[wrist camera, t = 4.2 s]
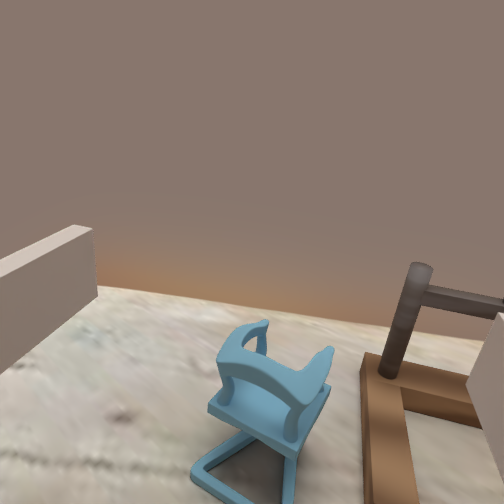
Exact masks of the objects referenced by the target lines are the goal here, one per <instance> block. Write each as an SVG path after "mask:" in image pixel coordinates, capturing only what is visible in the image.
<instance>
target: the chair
mask: <svg viewBox="0 0 504 504" xmlns="http://www.w3.org/2000/svg"><path fill="white" fill-rule="evenodd" d="M268 325H269V321H268V320H266V319H265V320H262V321H260V322H257V323H252V324H246V325H242V326H240V327H238V328H236V329H235V330H234V331H233V332H232V333H231V334H230V336H229V337H228V338H227V340H226V341H225V343H224V344H223V346H222V348H221V350H220V351H219V353H218V355H217V358H216V362H217V366H218V370H219V374H220V376H221V379H222V383H223V387H222V388H221V389H220V390H219V391H218V393H217V394H216V395H215V396H214V397H213V398H212V399H211V400H210V401H209V402H208V411H207V412H208V413H209V414H211V415H213V416H215V417H216V418H218V419H220V420H222V421H224V422H226V423H228V424H230V425H232V426H235V427H237V428H239V429H241V430H242V431H240V432H239V433H237V434H236V435H234V436H233V437H231V438H230V439H228V440H227V441H225V442H224V443H222V444H221V445H219V446H218V447H216V448H215V449H213V450H212V451H210V452H209V453H207V454H206V455H205V456H203V457H202V458H201V459H200V460H198V461H197V462H196V463H195V464H194V465H193V466H192V468H191V479H192V481H193V482H194V483H196V484H197V485H199V486H200V487H202V488H203V489H205V490H206V491H208V492H209V493H211V494H212V495H214V496H215V497H217V498H218V499H220V500H221V501H223V502H224V503H226V504H254V503H253V502H251V501H250V500H248V499H247V498H245V497H244V496H242V495H241V494H239V493H238V492H236V491H235V490H233V489H232V488H230V487H229V486H227V485H226V484H224V483H222V482H221V481H219V480H218V479H216V478H215V477H213V476H212V475H210V474H209V473H207V471H208V470H210V469H211V468H213V467H214V466H216V465H217V464H219V463H221V462H222V461H224V460H225V459H227V458H228V457H230V456H231V455H233V454H235V453H236V452H238V451H239V450H241V449H242V448H244V447H245V446H247V445H248V444H250V443H251V442H253V441H254V440H256V439H259V440H260V441H262V442H263V443H265V444H266V445H268V446H269V447H271V448H272V449H274V450H275V451H277V452H279V453H280V454H282V455H284V456H285V461H284V473H283V487H282V502H281V504H293V503H294V492H295V479H296V466H297V456H298V454H299V452H300V450H301V448H302V446H303V444H304V442H305V440H306V438H307V436H308V434H309V432H310V430H311V429H312V427H313V425H314V423H315V422H316V420H317V418H318V416H319V414H320V412H321V410H322V408H323V406H324V404H325V402H326V400H327V398H328V396H329V394H330V390H331V386H330V385H327V384H325V383H324V382H325V380H326V377H327V375H328V373H329V370H330V367H331V364H332V357H333V354H334V347H332V346H327V347H326V348H325V349H324V350H323V351H321V352H318V353H317V354H316V355H315V356H314V357H313V358H312V360H311V361H310V362H309V364H308V365H307V366H306V367H305V368H304V369H303V370H300V371H294V370H292V369H290V368H288V367H285V366H283V365H281V364H280V363H278V362H276V361H274V360H272V359H270V358H268V357H266V352H267V343H266V332H267V328H268ZM255 336H257V348H256V352H251V351H249V350H246V349H244V348H243V347H244V345H245V344H246V343H247V342H248V341H249V340H250V339H251V338H253V337H255Z"/></svg>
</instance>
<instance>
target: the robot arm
mask: <svg viewBox="0 0 504 504" xmlns="http://www.w3.org/2000/svg"><path fill="white" fill-rule="evenodd" d="M97 296H98V292H97V279H96V265H95V249H94V235H93V228H88V227H83V226H78V225H72V226H70V227H68V228H65V229H63V230H61V231H59V232H57V233H55V234H53V235H51V236H49V237H47V238H44V239H42V240H40V241H38V242H36V243H34V244H32V245H30V246H28V247H26V248H24V249H21V250H19V251H17V252H15V253H13V254H11V255H9V256H7V257H5V258H3V259H0V374H2V373H3V372H4V371H5V370H7V369H8V368H9V367H10V366H11V365H13V364H14V363H15V362H16V361H18V360H19V359H20V358H21V357H23V356H24V355H25V354H26V353H28V352H29V351H30V350H31V349H33V348H34V347H35V346H36V345H38V344H39V343H40V342H41V341H43V340H44V339H45V338H46V337H48V336H49V335H50V334H51V333H53V332H54V331H55V330H56V329H57V328H59V327H60V326H61V325H62V324H64V323H65V322H66V321H67V320H69V319H70V318H71V317H72V316H74V315H75V314H76V313H77V312H79V311H80V310H81V309H82V308H84V307H85V306H86V305H87V304H89V303H90V302H91V301H92V300H94V299H95V298H96V297H97ZM465 385H466V387H467V390H468V393H469V395H470V398H471V400H472V403H473V405H474V408H475V411H476V413H477V416H478V418H479V421H480V424H481V426H482V429H483V431H484V434H485V436H486V439H487V442H488V444H489V447H490V449H491V452H492V455H493V457H494V460H495V462H496V465H497V467H498V470H499V473H500V475H501V478H502V480H503V483H504V313H500V312H498V313H497V315H496V318H495V320H494V322H493V325H492V327H491V329H490V331H489V333H488V335H487V338H486V340H485V342H484V344H483V347H482V349H481V351H480V353H479V355H478V358H477V360H476V362H475V364H474V367H473V369H472V371H471V373H470V375H469V378H468V380H467V382H466V384H465Z"/></svg>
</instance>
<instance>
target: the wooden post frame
mask: <svg viewBox="0 0 504 504" xmlns="http://www.w3.org/2000/svg"><path fill="white" fill-rule="evenodd" d="M432 273H433V268H432V267H431V266H429V265H427V264H424V263H420V262H413V263H411V265H410V268H409V271H408V274H407V277H406V281H405V284H404V287H403V290H402V293H401V297H400V300H399V303H398V306H397V310H396V313H395V316H394V319H393V322H392V326H391V329H390V332H389V335H388V338H387V341H386V345H385V348H384V351H383V354H382V356H381V355H376V354H372V353H368V352H365V354H364V358H363V361H362V365H361V368H360V391H361V421H362V451H363V480H364V504H419V498H418V492H417V486H416V480H415V474H414V468H413V462H412V457H411V451H410V445H409V439H408V433H407V427H406V421H405V415H404V409H406V410H410V411H414V412H418V413H422V414H426V415H430V416H434V417H438V418H442V419H445V420H449V421H453V422H457V423H461V424H465V425H469V426H473V427H477V428H481V429H482V426H481V424H480V421H479V418H478V416H477V413H476V411H475V408H474V405H473V403H472V400H471V398H470V395H469V393H468V390H467V387H466V385H465V384H466V382H467V380H468V378H469V376H467V375H463V374H459V373H454V372H450V371H446V370H441V369H437V368H433V367H428V366H424V365H420V364H415V363H411V362H407V361H402V360H403V357H404V354H405V351H406V348H407V345H408V343H409V340H410V337H411V334H412V331H413V328H414V325H415V322H416V319H417V316H418V313H419V310H420V307H421V305H422V306H427V307H433V308H437V309H442V310H447V311H452V312H457V313H462V314H466V315H471V316H476V317H481V318H486V319H491V320H495V318H496V315H497V313H498V312H500V313H504V299H500V298H495V297H490V296H484V295H479V294H474V293H469V292H464V291H459V290H453V289H449V288H443V287H438V286H433V285H428V284H429V281H430V278H431V275H432Z"/></svg>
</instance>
